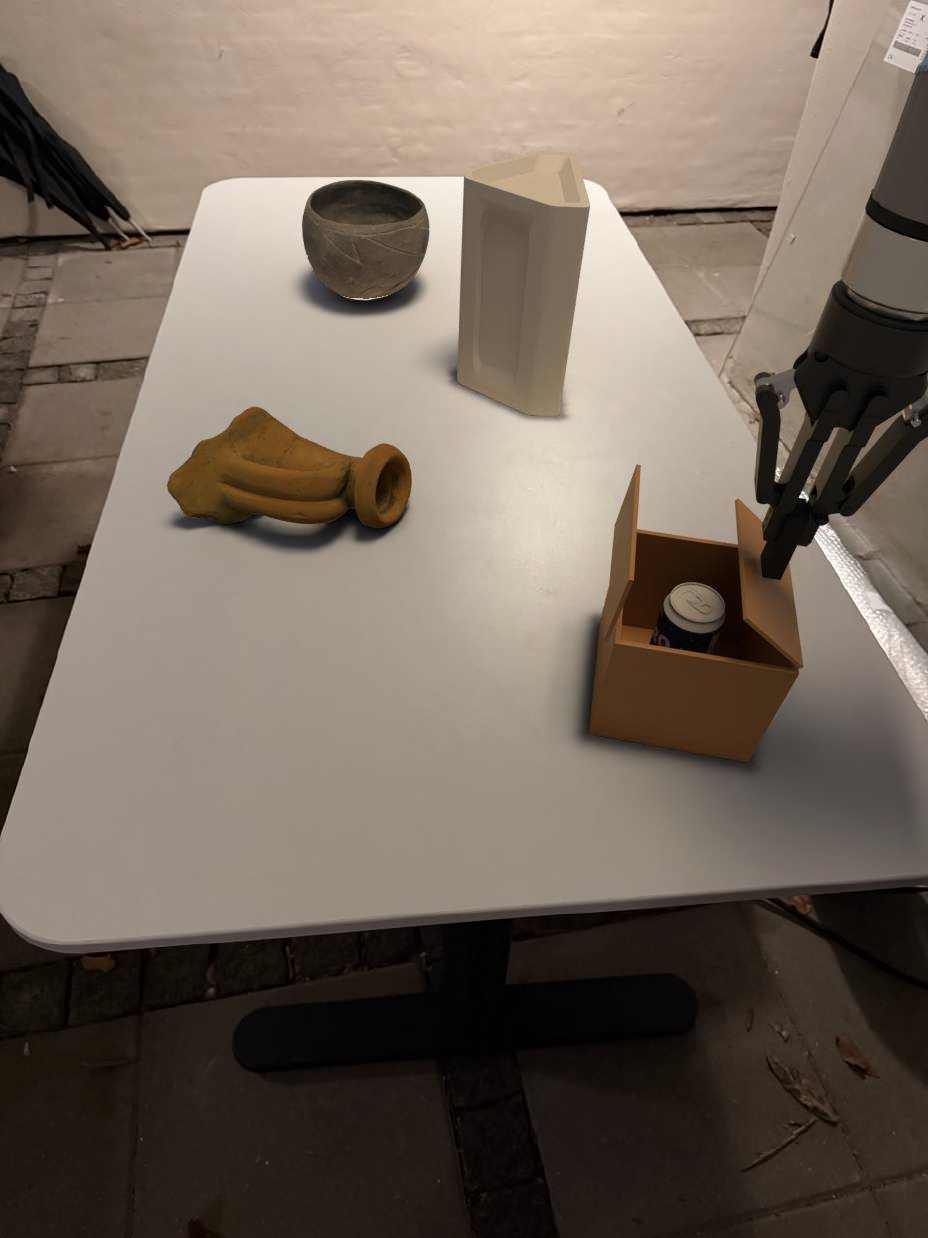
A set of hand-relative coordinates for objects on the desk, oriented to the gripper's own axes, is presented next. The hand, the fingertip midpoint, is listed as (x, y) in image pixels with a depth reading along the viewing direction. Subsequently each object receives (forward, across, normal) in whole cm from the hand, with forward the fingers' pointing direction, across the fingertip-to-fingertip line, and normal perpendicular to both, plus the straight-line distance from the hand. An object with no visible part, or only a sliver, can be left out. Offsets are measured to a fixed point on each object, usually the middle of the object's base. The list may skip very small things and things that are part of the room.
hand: (770, 567), depth 65 cm
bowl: (+18, +57, -75) cm, 96 cm away
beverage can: (+17, +5, 0) cm, 18 cm away
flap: (+1, 0, 0) cm, 1 cm away
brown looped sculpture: (+18, +50, -16) cm, 55 cm away
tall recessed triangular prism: (+18, +30, -54) cm, 64 cm away
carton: (+18, +4, 0) cm, 18 cm away
